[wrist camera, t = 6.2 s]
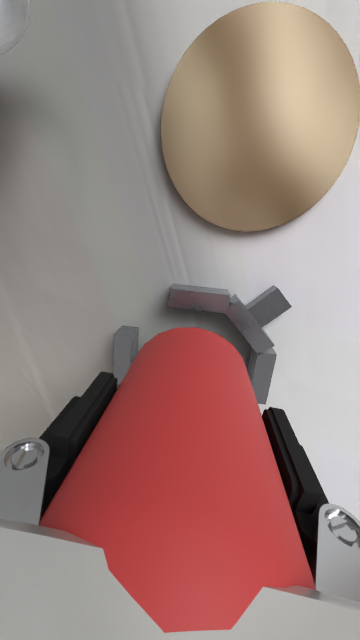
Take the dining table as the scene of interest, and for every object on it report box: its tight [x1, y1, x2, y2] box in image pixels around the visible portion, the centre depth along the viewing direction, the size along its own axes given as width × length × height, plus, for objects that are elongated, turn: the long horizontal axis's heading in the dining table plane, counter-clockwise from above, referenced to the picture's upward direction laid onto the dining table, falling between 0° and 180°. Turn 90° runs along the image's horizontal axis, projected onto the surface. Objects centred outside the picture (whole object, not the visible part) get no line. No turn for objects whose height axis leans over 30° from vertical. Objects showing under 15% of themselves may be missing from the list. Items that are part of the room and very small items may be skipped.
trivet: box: [161, 2, 360, 231], centre depth 15 cm, size 11×11×1 cm
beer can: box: [39, 327, 316, 633], centre depth 9 cm, size 7×7×12 cm
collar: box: [113, 284, 291, 404], centre depth 18 cm, size 16×10×2 cm
